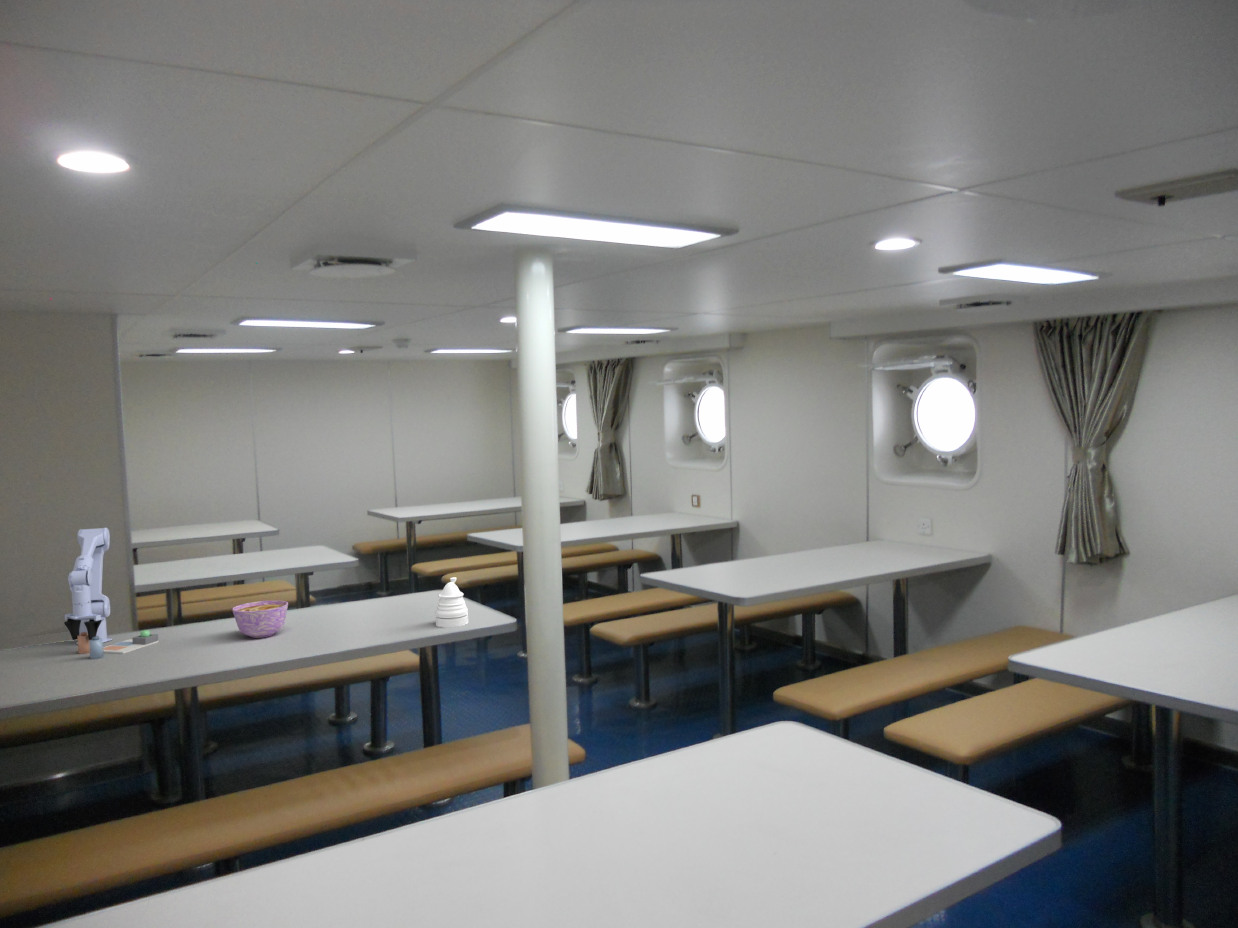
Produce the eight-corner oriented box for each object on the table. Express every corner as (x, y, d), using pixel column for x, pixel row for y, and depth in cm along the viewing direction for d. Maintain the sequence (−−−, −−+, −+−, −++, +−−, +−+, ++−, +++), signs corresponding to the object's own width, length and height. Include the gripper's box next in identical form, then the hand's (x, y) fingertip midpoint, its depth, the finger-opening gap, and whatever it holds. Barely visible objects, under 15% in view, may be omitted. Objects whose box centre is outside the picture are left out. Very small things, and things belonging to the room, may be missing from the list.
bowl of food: (291, 626, 334) (290, 598, 334) (287, 638, 315) (286, 608, 315) (237, 632, 328) (235, 603, 328) (230, 644, 309) (228, 613, 309)
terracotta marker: (75, 653, 303) (74, 633, 303) (85, 650, 307) (84, 630, 306) (84, 654, 302) (83, 633, 302) (94, 651, 306) (92, 631, 305)
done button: (139, 639, 313) (138, 631, 313) (145, 637, 316) (145, 629, 316) (145, 639, 312) (145, 631, 312) (151, 637, 315) (151, 629, 315)
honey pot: (449, 618, 340) (447, 575, 339) (475, 621, 334) (473, 576, 333) (429, 625, 328) (427, 580, 327) (455, 628, 322) (453, 582, 321)
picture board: (92, 651, 305) (92, 643, 305) (129, 640, 320) (128, 632, 320) (123, 653, 301) (122, 645, 301) (158, 642, 316) (158, 634, 316)
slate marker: (87, 658, 295) (86, 638, 295) (97, 655, 299) (96, 635, 299) (96, 659, 294) (95, 638, 294) (106, 656, 298) (104, 635, 298)
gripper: (56, 604, 302) (58, 641, 302) (87, 605, 298) (90, 642, 298) (73, 600, 308) (75, 636, 309) (104, 601, 305) (107, 638, 305)
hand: (84, 639), depth 304 cm, fingers open, 7 cm apart
